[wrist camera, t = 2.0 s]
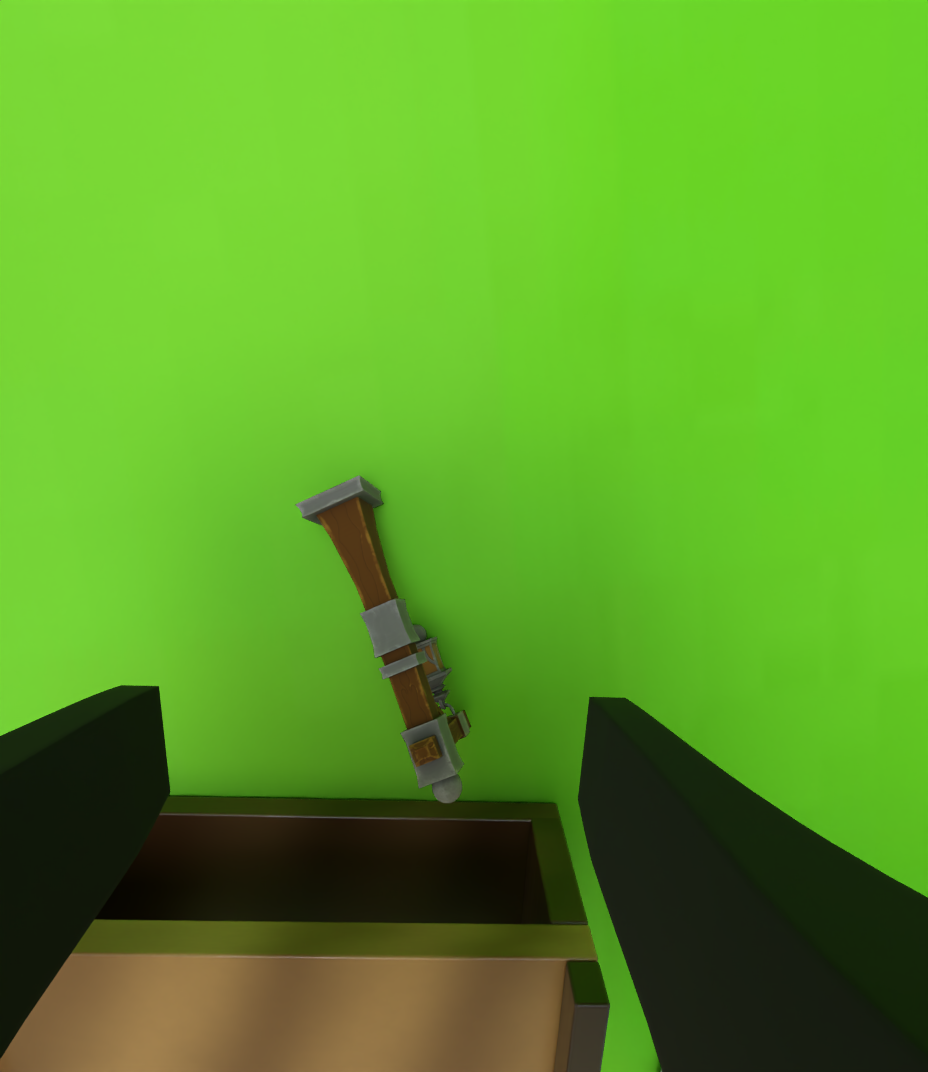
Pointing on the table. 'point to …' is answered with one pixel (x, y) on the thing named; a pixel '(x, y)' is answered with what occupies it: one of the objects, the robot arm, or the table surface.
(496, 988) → the shallow wooden tray
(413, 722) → the wooden post with brackets
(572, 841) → the table surface
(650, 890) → the robot arm
